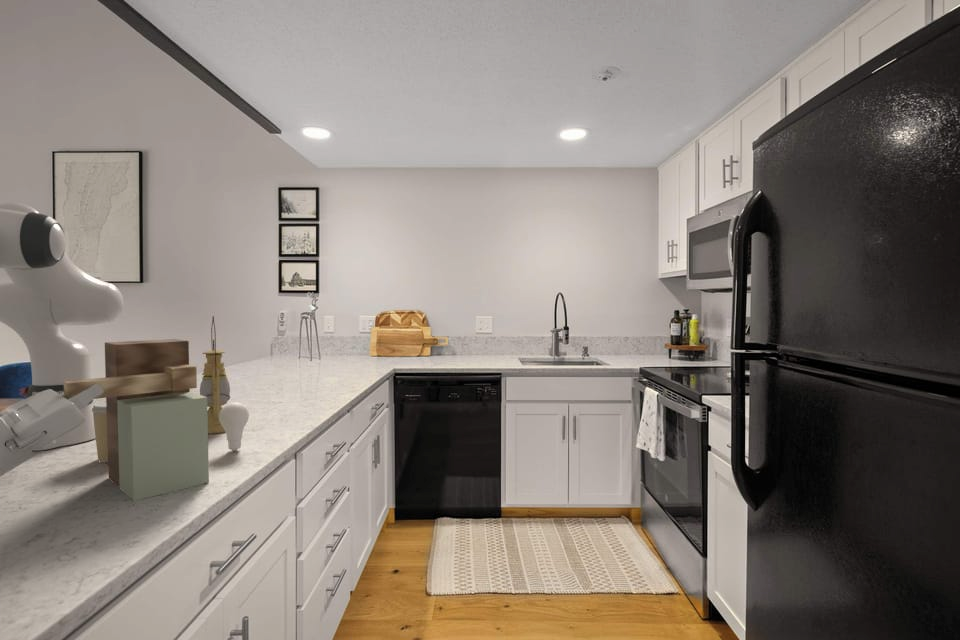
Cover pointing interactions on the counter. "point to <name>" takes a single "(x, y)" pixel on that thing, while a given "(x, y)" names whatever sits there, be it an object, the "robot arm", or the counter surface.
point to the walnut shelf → (136, 362)
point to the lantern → (214, 387)
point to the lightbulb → (234, 423)
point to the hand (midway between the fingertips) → (97, 385)
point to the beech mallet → (138, 382)
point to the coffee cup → (101, 430)
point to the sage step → (162, 443)
